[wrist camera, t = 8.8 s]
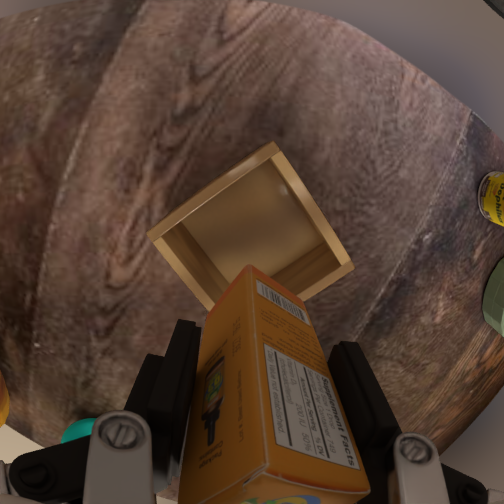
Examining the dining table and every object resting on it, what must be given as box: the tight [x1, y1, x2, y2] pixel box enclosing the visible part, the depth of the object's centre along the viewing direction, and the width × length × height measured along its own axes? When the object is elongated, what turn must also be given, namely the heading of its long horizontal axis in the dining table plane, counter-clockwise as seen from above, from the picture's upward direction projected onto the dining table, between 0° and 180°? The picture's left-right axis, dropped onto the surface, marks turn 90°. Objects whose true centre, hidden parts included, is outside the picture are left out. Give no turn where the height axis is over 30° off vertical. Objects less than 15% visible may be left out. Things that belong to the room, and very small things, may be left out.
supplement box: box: [178, 264, 371, 504], centre depth 10 cm, size 3×3×10 cm
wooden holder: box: [146, 141, 355, 312], centre depth 25 cm, size 11×11×7 cm
